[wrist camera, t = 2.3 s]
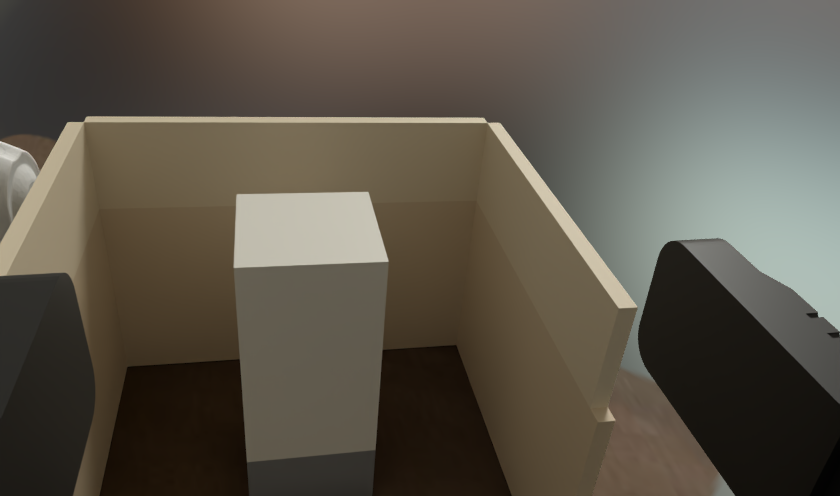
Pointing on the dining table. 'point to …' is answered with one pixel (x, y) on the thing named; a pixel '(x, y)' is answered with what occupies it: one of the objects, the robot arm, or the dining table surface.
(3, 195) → the photo printer
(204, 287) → the storage bin
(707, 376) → the robot arm
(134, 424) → the dining table surface
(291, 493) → the box
